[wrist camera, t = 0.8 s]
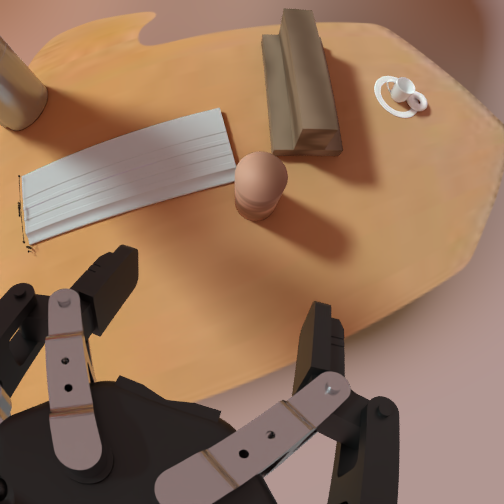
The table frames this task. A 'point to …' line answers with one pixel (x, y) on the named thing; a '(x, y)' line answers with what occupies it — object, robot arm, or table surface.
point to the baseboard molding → (127, 174)
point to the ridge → (299, 89)
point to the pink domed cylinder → (259, 185)
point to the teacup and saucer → (401, 95)
